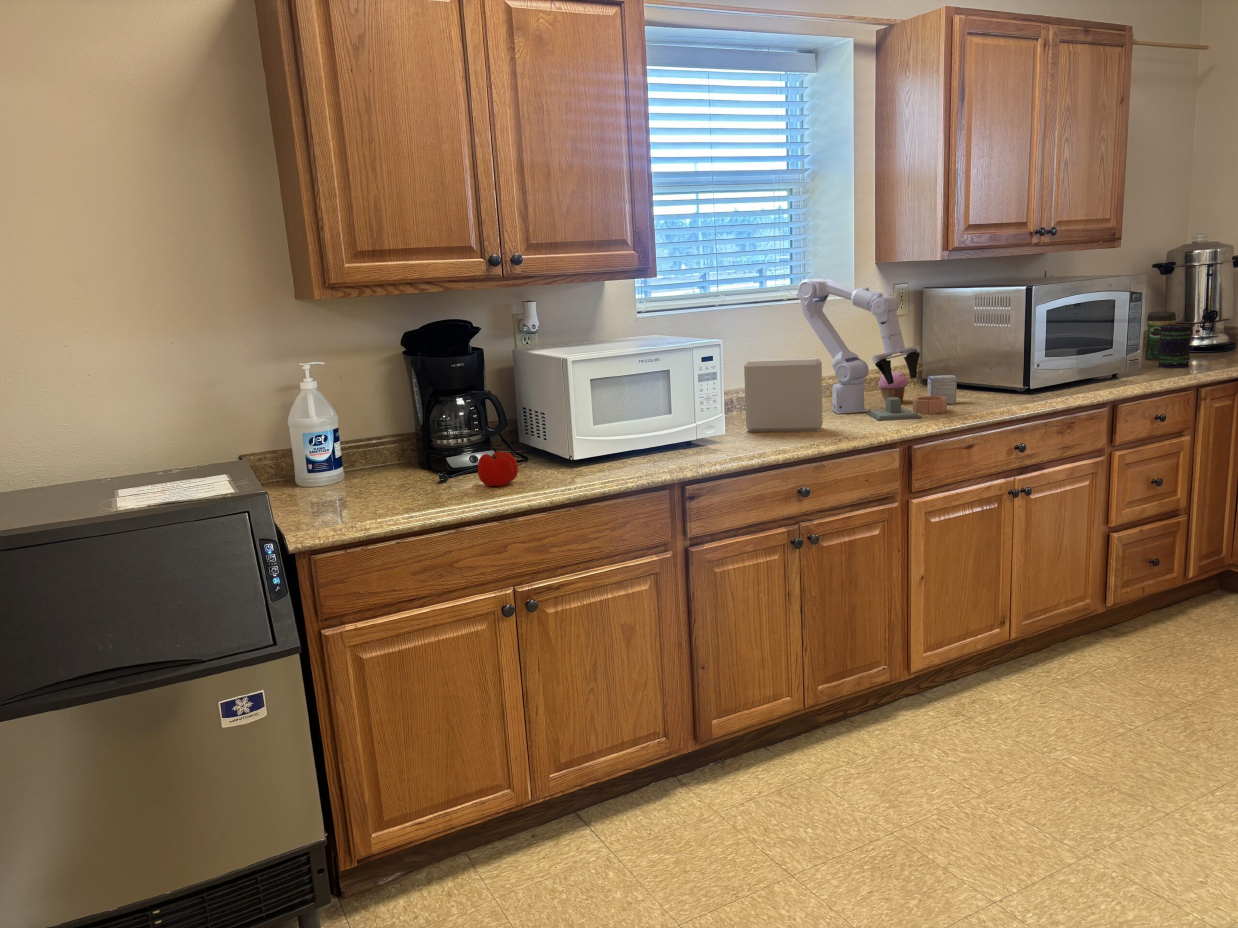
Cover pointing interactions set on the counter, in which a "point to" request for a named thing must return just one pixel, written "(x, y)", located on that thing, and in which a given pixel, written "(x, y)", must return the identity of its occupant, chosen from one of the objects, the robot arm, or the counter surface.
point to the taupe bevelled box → (783, 395)
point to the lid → (893, 409)
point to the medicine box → (943, 387)
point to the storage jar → (1174, 346)
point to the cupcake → (893, 386)
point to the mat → (892, 418)
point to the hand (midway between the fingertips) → (902, 381)
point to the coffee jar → (1157, 331)
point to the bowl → (930, 404)
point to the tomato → (497, 468)
